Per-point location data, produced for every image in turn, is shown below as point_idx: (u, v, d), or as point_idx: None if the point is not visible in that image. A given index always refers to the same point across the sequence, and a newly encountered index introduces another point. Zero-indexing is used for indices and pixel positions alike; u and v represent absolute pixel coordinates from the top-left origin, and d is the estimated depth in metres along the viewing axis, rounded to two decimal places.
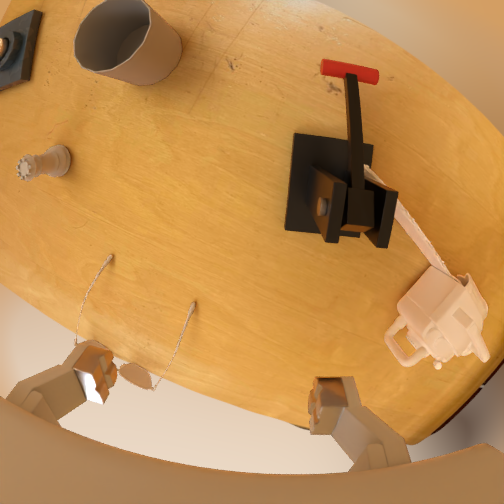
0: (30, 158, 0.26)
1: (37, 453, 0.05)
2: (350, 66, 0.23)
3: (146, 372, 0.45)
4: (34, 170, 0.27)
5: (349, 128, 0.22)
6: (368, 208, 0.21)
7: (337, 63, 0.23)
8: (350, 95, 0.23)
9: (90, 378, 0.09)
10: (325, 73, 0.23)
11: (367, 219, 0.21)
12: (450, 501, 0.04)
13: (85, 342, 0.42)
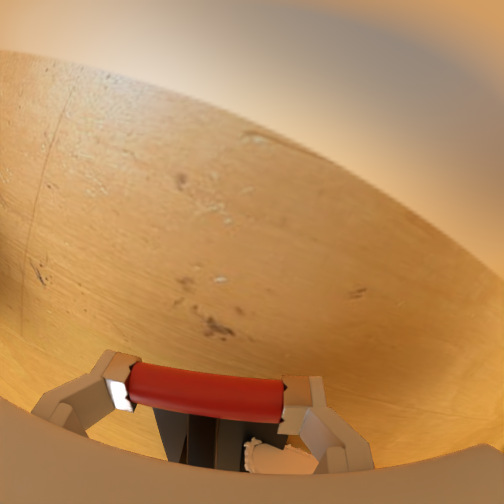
0: None
1: (37, 453, 0.05)
2: (198, 403, 0.09)
3: None
4: None
5: None
6: None
7: (162, 394, 0.09)
8: None
9: (121, 387, 0.09)
10: None
11: None
12: (450, 501, 0.04)
13: None
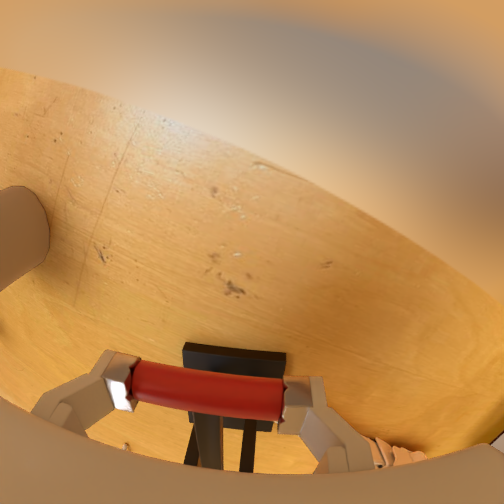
0: None
1: (37, 453, 0.05)
2: (199, 409, 0.10)
3: None
4: None
5: None
6: None
7: (165, 401, 0.10)
8: None
9: (121, 387, 0.09)
10: None
11: None
12: (450, 501, 0.04)
13: None
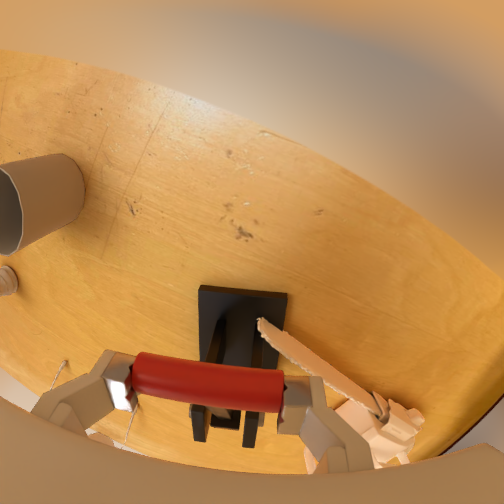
0: None
1: (37, 453, 0.05)
2: (201, 404, 0.10)
3: (110, 440, 0.45)
4: None
5: None
6: (232, 429, 0.21)
7: (167, 398, 0.10)
8: None
9: (121, 387, 0.09)
10: None
11: (231, 429, 0.22)
12: (450, 501, 0.04)
13: None
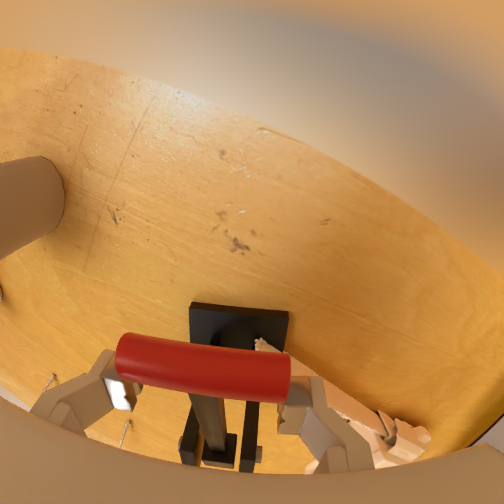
0: None
1: (37, 453, 0.05)
2: (193, 392, 0.08)
3: None
4: None
5: None
6: (226, 465, 0.17)
7: (154, 383, 0.08)
8: None
9: (120, 386, 0.09)
10: None
11: (225, 467, 0.18)
12: (450, 501, 0.04)
13: None
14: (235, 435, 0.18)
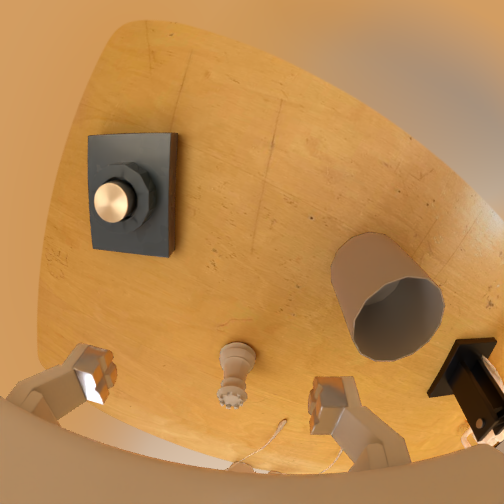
0: (240, 391, 0.28)
1: (37, 453, 0.05)
2: None
3: None
4: (245, 400, 0.29)
5: None
6: (496, 426, 0.24)
7: None
8: None
9: (90, 378, 0.09)
10: None
11: None
12: (450, 501, 0.04)
13: (232, 466, 0.45)
14: (501, 407, 0.24)
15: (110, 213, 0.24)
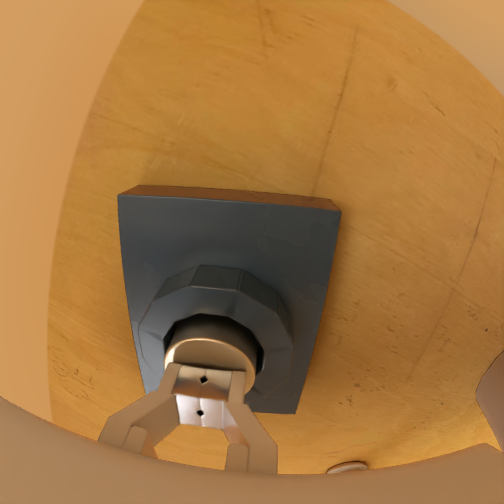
0: None
1: (37, 453, 0.05)
2: None
3: None
4: None
5: None
6: None
7: None
8: None
9: (194, 402, 0.09)
10: None
11: None
12: (450, 501, 0.04)
13: None
14: None
15: None
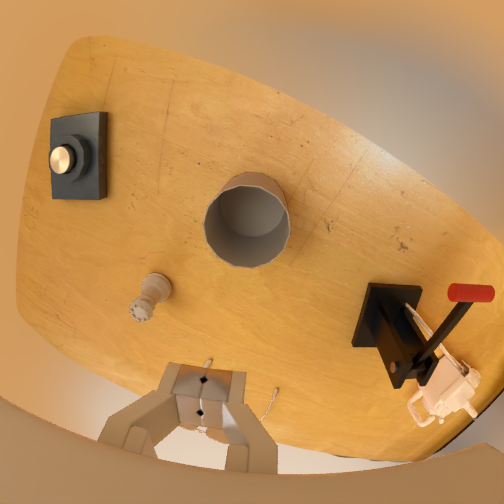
0: (145, 305, 0.36)
1: (37, 453, 0.05)
2: (474, 300, 0.22)
3: None
4: (151, 315, 0.36)
5: (436, 336, 0.27)
6: (417, 374, 0.31)
7: (465, 299, 0.22)
8: (454, 319, 0.24)
9: (194, 401, 0.09)
10: (450, 298, 0.23)
11: (414, 377, 0.31)
12: (450, 501, 0.04)
13: None
14: None
15: (59, 167, 0.32)
